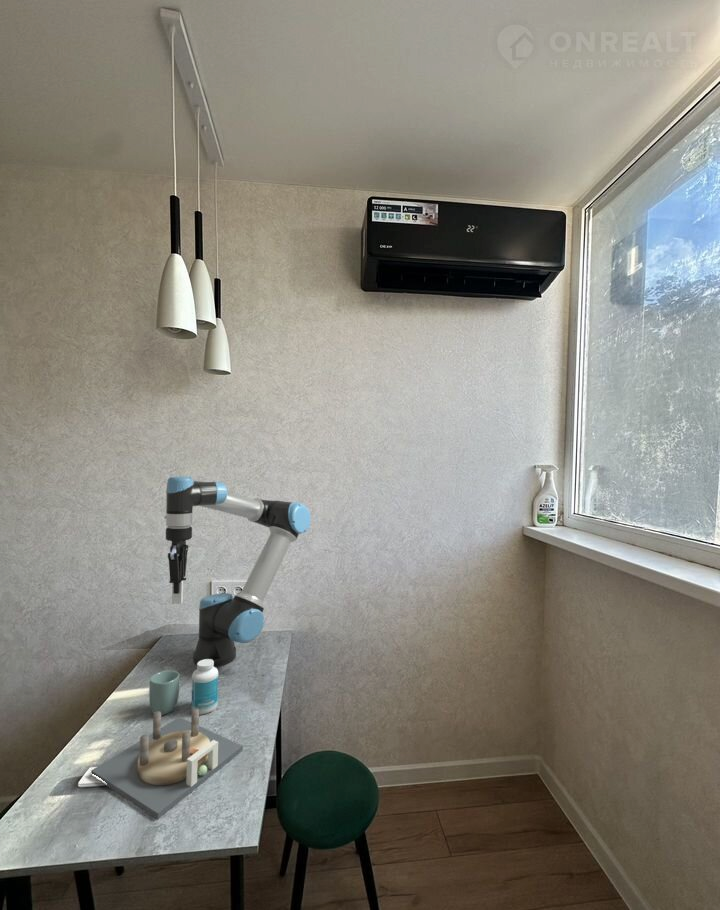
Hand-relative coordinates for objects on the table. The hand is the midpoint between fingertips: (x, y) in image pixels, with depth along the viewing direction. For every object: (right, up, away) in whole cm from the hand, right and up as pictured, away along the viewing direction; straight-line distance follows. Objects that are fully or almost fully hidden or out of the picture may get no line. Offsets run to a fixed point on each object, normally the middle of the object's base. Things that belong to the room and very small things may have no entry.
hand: (177, 602), depth 132 cm
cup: (-1, -29, -7) cm, 30 cm away
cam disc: (+11, -28, -29) cm, 42 cm away
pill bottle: (+10, -30, -5) cm, 32 cm away
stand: (+10, -29, -28) cm, 42 cm away
